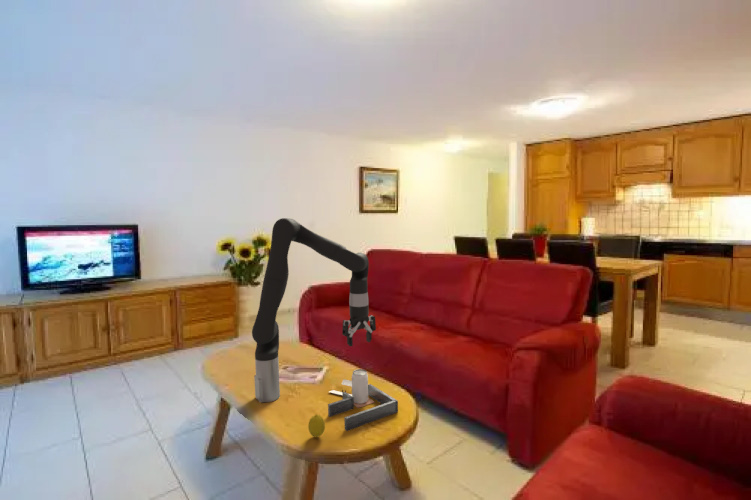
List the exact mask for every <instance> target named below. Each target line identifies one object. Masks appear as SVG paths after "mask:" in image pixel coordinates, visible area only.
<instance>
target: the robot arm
mask: <svg viewBox="0 0 751 500" xmlns="http://www.w3.org/2000/svg"><path fill="white" fill-rule="evenodd" d="M270 242H271V243H270V249H269V255H268V259H267V265H266V268H265V273H264V276H263V281H262V287H261V293H260V297H259V298H260V300H259V306H258V311H257V313H256V318H255V319H254V320H255V321H254V323H253V326H252V328H251V336H252V339H253V340H254V342H255V343H256V346H255V351H254V359H255V361H254V362H255V366H254V367H255V375H254V395H255V397H256V400H257V401H258V402H259V403H260V402H261V403H271V402H274V401H276V400H278V399H279V398H280V396H281V393H280V392H281V390H280V389H281V388H280V370H279V369H280V367H279V350H280V349H279V348H280V329H279V325H278V324H279V323H278V321H276V319H277V313H278V310H279V308H280V306H281V304H282V303H281V302H282V301H283V298H284V295H285V293H286V289H287V285H288V281H289V280H288V279H289V263H288V262H289V261H288V258H289V257H288V256H289V250H290V247H291V243H292V242H295V243H298V244H302V245H304V246H306V247H308V248H310V249H312V250H313V251H314V252H316V253H318V254H319V255H321V256H323V257H324V258H327V259H329V260H331V261H332V262H335V263H338V264H339V265H340V266H342V267H343V268H345V269H347V270H349V271H351V277H350V280H349V298H348V299H349V301H348V303H349V305H348V306H349V320H345V319H343V320H342V328H341V329H342V334H341V335H342V336H344V337H346V344H347V345H348V346H349V347H353V346H354V345H353V335H354V333H356V331H359V330H365V332H366V334H365V337H366V339H365V340H366V342H367V343H370V342H372V340H373V339H372V336H373V335H372V333H373V332H374V331H377V326H376V316H374V315H372V314H370V312H369V292H368V287H369V286H368V284H369V283H368V276H369V269H370V268H369V265H370V262H369V258H368V256H367V254H365V253H362V252H357V253H355V252H353V251H351V250H349V249H347V247H346V246H344V245H342V244H341V243H338V242H336V241H333V240H331V239H329V238H327V237H325V236H322V235H320V234H318V233H315V232H314V231H312V230H310V229H308V228H307V227H305V226H304V225H302V224H301V223H299V222H298V221H296V220H295V219H293V218H288V217H287V218H286V217H285V218H284V217H283V218H279V219H278V220H276V221H275V223H273V227H272V234H271V240H270ZM369 314H370V315H369ZM368 323H369V324H368Z"/></svg>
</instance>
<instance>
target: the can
mask: <svg viewBox="0 0 751 500" xmlns="http://www.w3.org/2000/svg"><path fill="white" fill-rule="evenodd" d="M351 381H352V387H351V394H352V397H353V398H354V403H356V404H364V403H366V402H367V401H368V398H369V395H368V385H369V376H368V372H367V370H365V369H361V368H359V369H354V370H352V375H351Z"/></svg>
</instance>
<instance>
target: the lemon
mask: <svg viewBox="0 0 751 500" xmlns="http://www.w3.org/2000/svg"><path fill="white" fill-rule="evenodd" d="M325 425H326V424H325V419H324V417H323V416H321V415H320V414H314V415H312V416H311V418H310V419H309V421H308V427H307V428H308V431H309V434H310V435H311V436H312V437H315V438H318V437H321V436H322V435H323V434H324V432H325V428H326V426H325Z"/></svg>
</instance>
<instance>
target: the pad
mask: <svg viewBox="0 0 751 500" xmlns="http://www.w3.org/2000/svg"><path fill="white" fill-rule="evenodd" d="M375 403H376V402H375V401H374V400H373V399H372V398H371V397H368V401H367V402H366V403H364V404H356V403H354V408H355V407H356V409H360V408H362V407H365V406H369V405H371V404H375Z"/></svg>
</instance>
